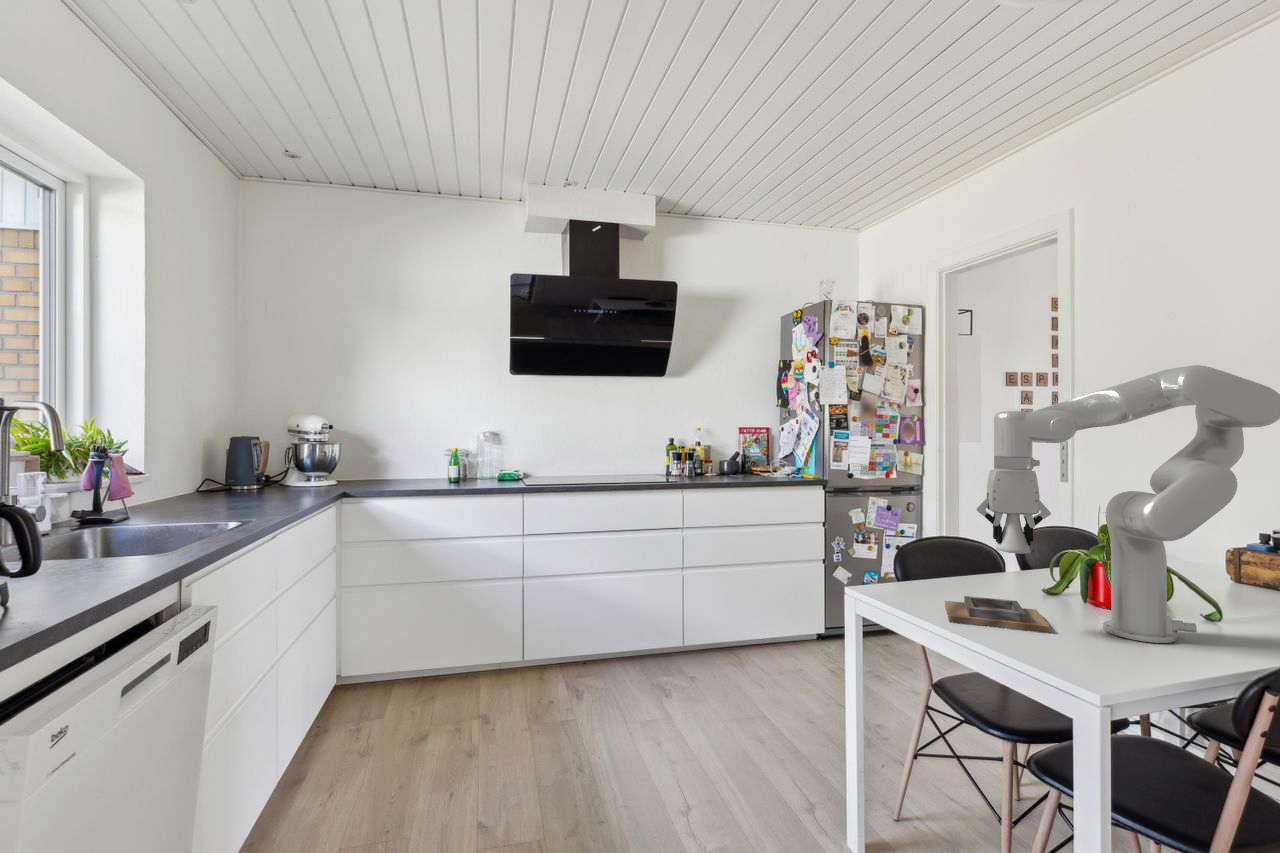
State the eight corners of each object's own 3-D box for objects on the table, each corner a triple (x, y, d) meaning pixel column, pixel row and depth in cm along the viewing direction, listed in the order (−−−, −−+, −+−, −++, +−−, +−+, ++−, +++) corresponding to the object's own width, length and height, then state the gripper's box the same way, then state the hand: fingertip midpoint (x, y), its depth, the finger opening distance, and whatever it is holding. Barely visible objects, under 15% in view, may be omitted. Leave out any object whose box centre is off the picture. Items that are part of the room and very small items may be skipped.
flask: (1026, 556, 132) (1026, 511, 132) (990, 551, 138) (990, 507, 138) (1035, 551, 137) (1035, 508, 137) (1000, 547, 142) (1000, 505, 143)
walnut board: (1036, 615, 146) (1036, 601, 146) (1049, 633, 133) (1049, 617, 133) (944, 606, 154) (944, 592, 154) (949, 622, 141) (949, 607, 141)
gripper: (1051, 464, 138) (1051, 543, 138) (968, 463, 144) (968, 538, 144) (1061, 466, 131) (1061, 549, 131) (973, 464, 137) (973, 543, 137)
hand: (1012, 542), depth 137 cm, fingers closed on flask, 5 cm apart
